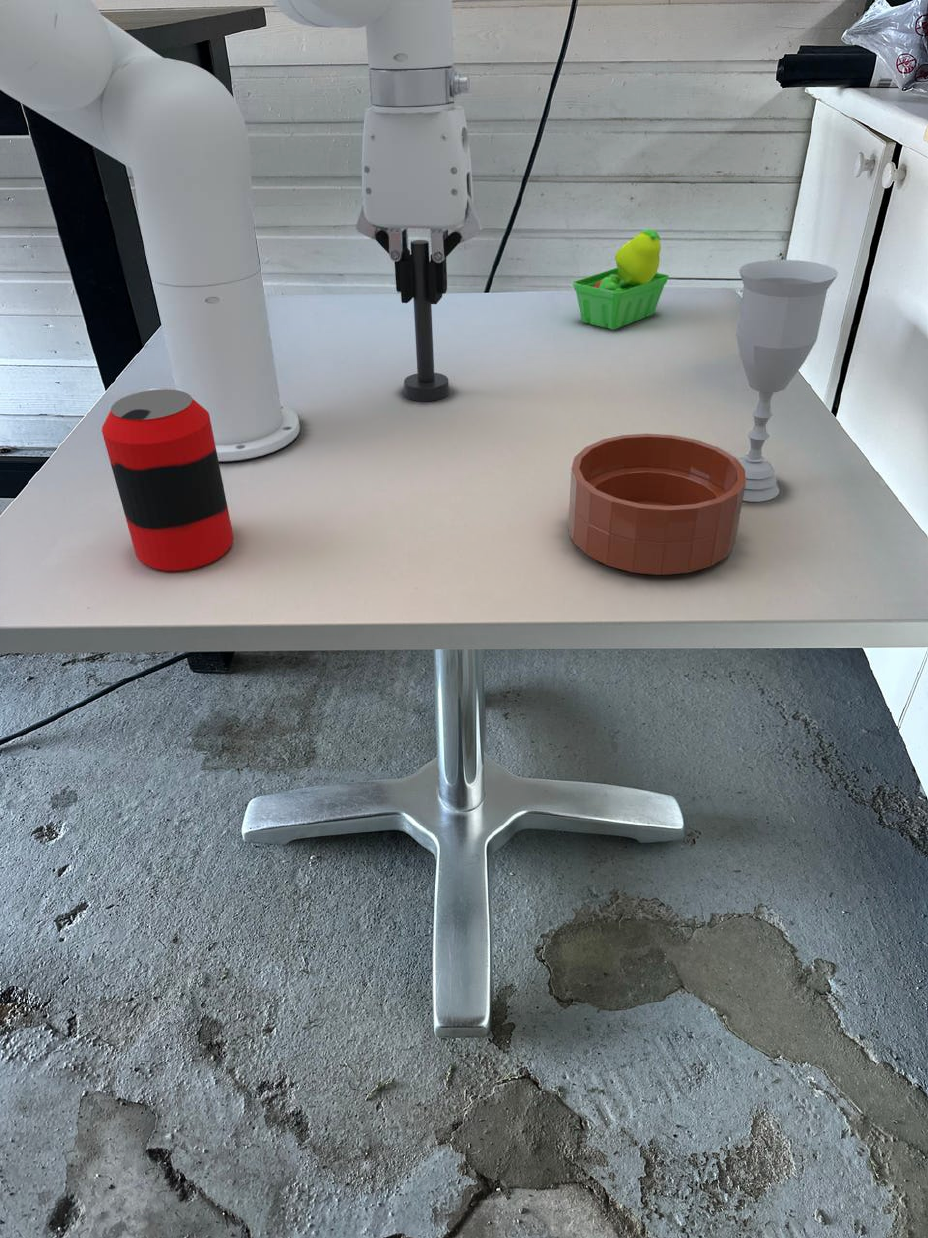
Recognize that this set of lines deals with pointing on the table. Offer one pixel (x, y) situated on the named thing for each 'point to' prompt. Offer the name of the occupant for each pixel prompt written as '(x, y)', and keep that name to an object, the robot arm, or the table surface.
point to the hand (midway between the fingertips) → (422, 298)
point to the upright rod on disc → (423, 333)
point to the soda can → (168, 479)
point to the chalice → (776, 345)
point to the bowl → (655, 503)
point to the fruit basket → (624, 285)
